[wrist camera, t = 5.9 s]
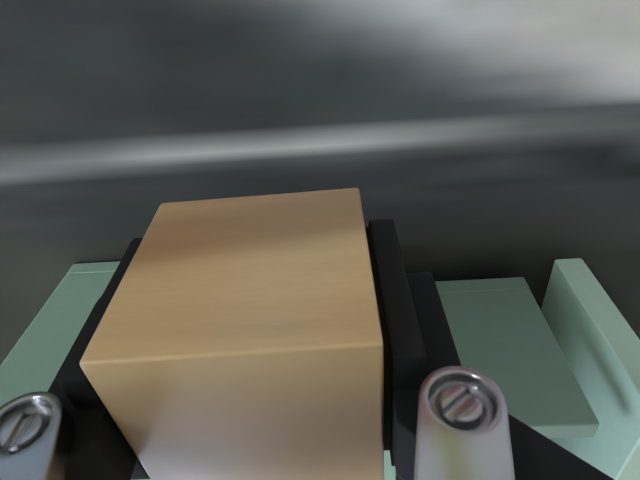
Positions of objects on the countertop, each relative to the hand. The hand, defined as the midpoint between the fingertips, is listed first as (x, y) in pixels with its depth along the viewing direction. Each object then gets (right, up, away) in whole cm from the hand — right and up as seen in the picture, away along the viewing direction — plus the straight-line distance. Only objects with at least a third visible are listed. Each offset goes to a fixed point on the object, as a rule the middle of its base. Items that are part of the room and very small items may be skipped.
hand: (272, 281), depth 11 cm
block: (0, 0, 0) cm, 0 cm away
